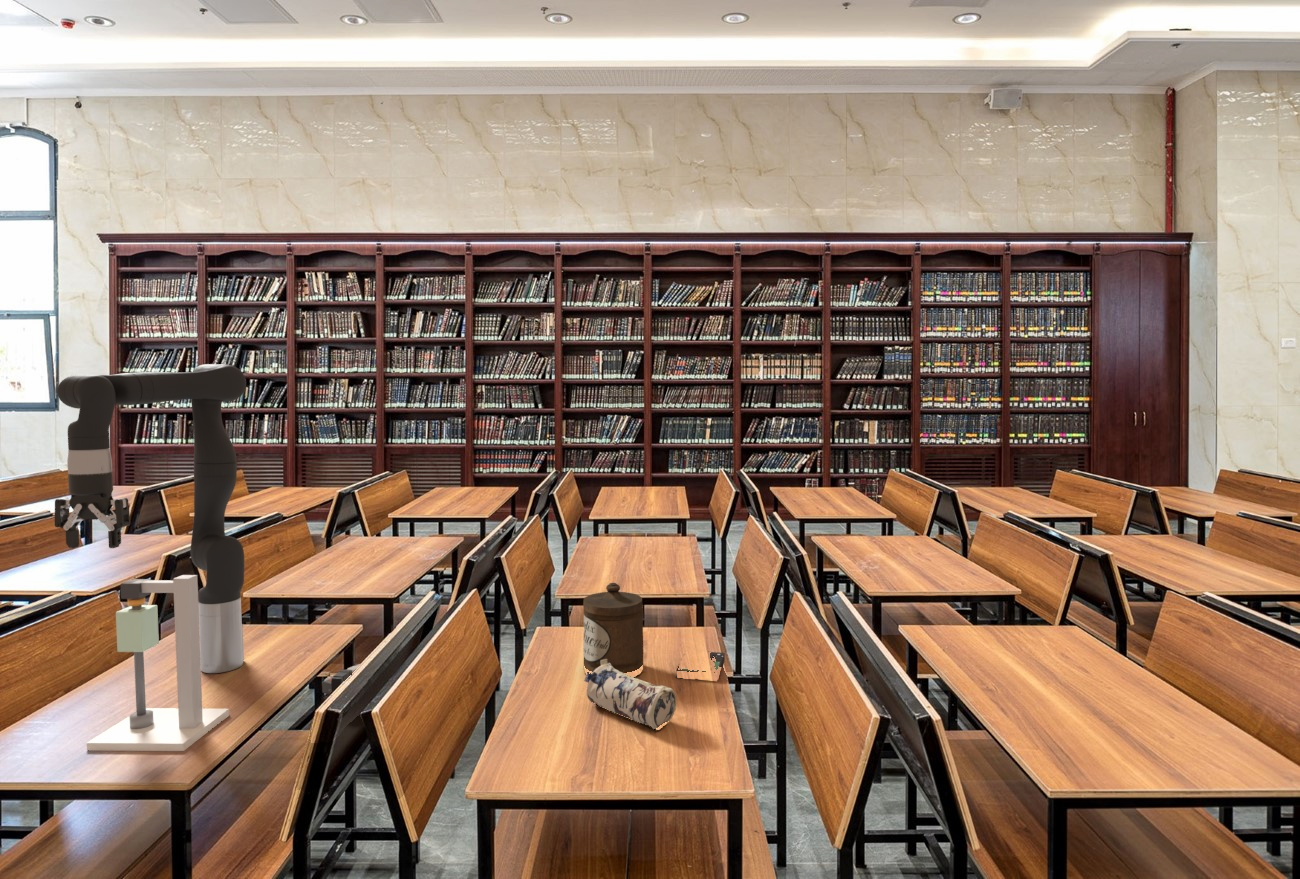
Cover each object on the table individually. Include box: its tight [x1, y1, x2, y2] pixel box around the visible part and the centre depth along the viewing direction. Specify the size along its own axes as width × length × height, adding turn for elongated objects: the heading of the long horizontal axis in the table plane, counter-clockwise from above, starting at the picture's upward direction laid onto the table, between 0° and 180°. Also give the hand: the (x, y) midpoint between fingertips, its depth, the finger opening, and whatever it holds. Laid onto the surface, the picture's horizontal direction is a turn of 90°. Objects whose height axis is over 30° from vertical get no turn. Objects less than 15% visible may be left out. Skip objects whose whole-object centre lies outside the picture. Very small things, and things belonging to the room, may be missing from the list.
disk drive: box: [675, 651, 726, 673], centre depth 191 cm, size 10×3×15 cm
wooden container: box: [582, 582, 644, 673], centre depth 190 cm, size 15×15×22 cm
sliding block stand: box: [86, 574, 230, 752], centre depth 155 cm, size 16×19×32 cm
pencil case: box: [584, 659, 677, 730], centre depth 164 cm, size 22×8×10 cm, turn 47°
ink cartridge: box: [330, 669, 352, 691], centre depth 167 cm, size 5×2×8 cm, turn 173°
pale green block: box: [115, 604, 160, 653], centre depth 154 cm, size 5×5×8 cm
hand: (93, 547), depth 161 cm, fingers open, 8 cm apart
